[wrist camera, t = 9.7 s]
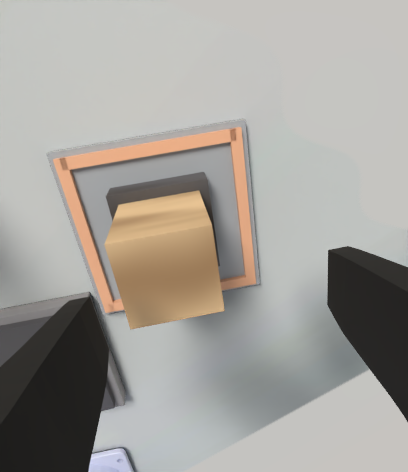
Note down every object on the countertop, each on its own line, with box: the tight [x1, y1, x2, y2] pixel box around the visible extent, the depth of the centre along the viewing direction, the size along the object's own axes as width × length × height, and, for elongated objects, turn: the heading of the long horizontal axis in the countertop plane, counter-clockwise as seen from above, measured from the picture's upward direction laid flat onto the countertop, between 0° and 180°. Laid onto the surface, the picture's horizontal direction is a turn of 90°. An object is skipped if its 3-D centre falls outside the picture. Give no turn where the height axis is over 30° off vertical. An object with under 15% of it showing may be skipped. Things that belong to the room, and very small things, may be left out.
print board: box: [47, 119, 260, 315], centre depth 18 cm, size 10×10×1 cm
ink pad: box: [0, 292, 126, 411], centre depth 21 cm, size 9×9×2 cm
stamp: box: [104, 172, 225, 329], centre depth 16 cm, size 5×5×6 cm
